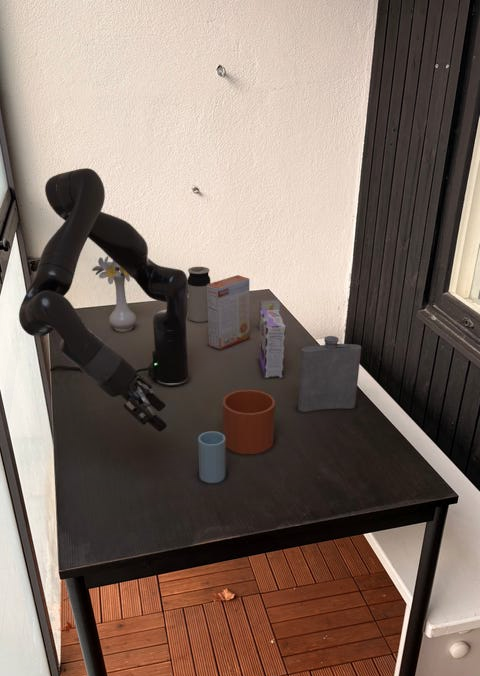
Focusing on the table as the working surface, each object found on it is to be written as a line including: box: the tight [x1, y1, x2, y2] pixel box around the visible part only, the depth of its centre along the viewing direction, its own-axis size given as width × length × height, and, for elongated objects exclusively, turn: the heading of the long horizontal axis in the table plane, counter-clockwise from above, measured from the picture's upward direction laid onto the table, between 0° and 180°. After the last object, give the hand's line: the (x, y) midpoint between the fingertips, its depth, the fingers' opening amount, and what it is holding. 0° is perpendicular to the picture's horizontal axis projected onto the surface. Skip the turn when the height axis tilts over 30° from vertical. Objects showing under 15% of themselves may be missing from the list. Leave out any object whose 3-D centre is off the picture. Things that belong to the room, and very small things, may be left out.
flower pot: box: [221, 389, 276, 455], centre depth 158 cm, size 13×13×11 cm
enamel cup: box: [197, 430, 227, 484], centre depth 145 cm, size 6×6×10 cm
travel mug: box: [187, 266, 211, 323], centre depth 229 cm, size 8×8×18 cm
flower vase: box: [91, 255, 138, 333], centre depth 219 cm, size 13×18×25 cm
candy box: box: [259, 310, 286, 379], centre depth 193 cm, size 14×6×16 cm, turn 5°
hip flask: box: [297, 335, 362, 413], centre depth 171 cm, size 16×4×20 cm, turn 99°
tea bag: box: [258, 299, 281, 330], centre depth 223 cm, size 4×7×10 cm, turn 98°
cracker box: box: [207, 274, 250, 350], centre depth 210 cm, size 14×6×21 cm, turn 135°
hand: (163, 418), depth 139 cm, fingers open, 8 cm apart
